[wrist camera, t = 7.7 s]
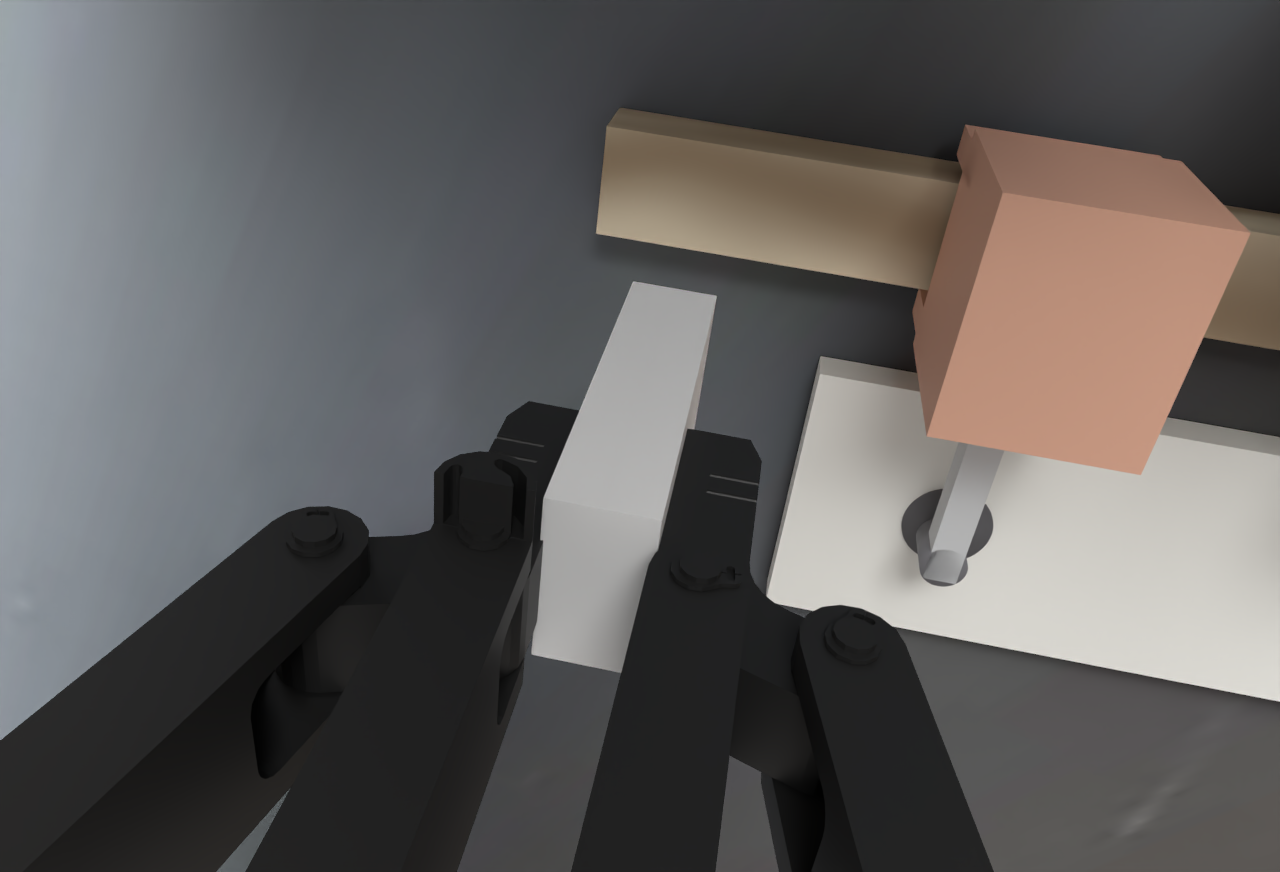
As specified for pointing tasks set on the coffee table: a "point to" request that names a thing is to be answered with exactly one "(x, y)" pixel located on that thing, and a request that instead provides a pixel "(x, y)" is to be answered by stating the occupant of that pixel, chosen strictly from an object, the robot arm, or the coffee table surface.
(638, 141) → the rail
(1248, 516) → the hole plate
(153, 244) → the coffee table surface
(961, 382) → the sliding leg
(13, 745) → the robot arm
